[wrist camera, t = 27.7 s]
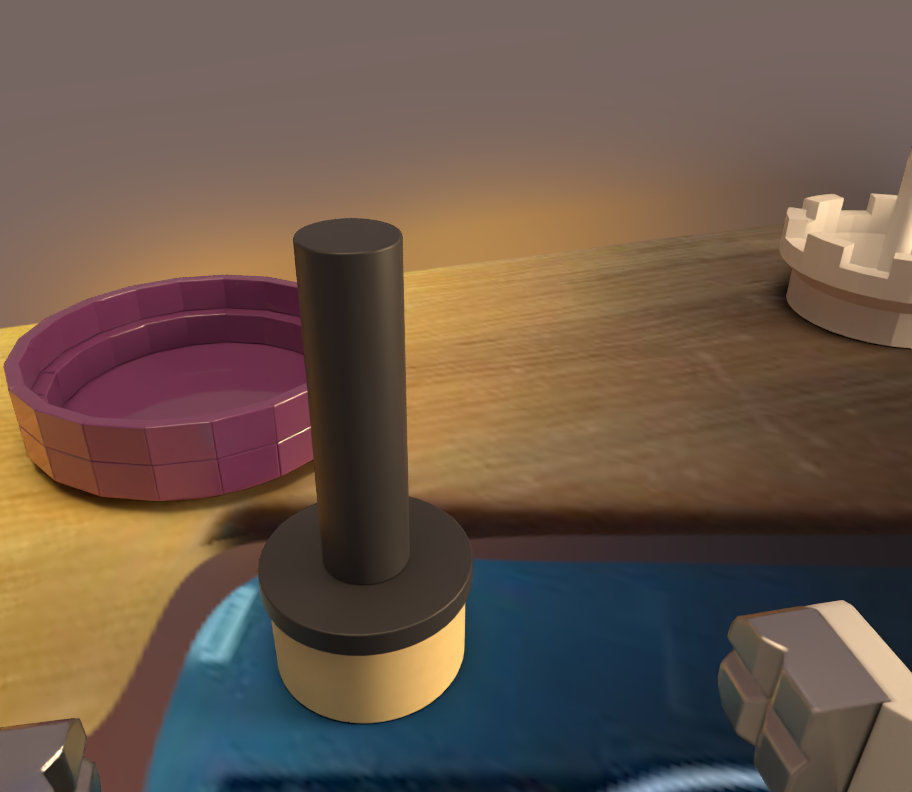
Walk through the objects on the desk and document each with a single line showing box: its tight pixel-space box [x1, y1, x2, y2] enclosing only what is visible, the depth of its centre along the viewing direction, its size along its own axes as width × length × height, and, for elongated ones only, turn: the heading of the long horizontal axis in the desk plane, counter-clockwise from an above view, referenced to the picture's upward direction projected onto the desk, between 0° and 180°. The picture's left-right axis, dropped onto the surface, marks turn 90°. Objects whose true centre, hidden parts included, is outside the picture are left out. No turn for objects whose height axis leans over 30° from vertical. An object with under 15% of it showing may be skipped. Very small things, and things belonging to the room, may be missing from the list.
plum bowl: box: [4, 275, 313, 501], centre depth 38 cm, size 15×15×4 cm
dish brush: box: [258, 218, 473, 723], centre depth 23 cm, size 6×6×14 cm
